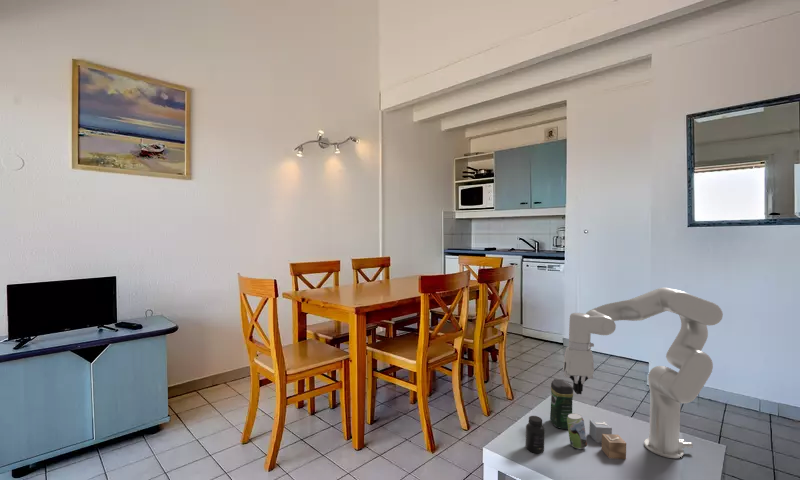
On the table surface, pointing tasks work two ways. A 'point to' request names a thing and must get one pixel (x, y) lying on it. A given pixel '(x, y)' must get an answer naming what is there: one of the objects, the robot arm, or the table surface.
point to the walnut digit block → (614, 446)
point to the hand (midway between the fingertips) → (577, 392)
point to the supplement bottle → (535, 435)
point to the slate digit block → (599, 429)
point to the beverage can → (576, 431)
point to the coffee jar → (560, 403)
